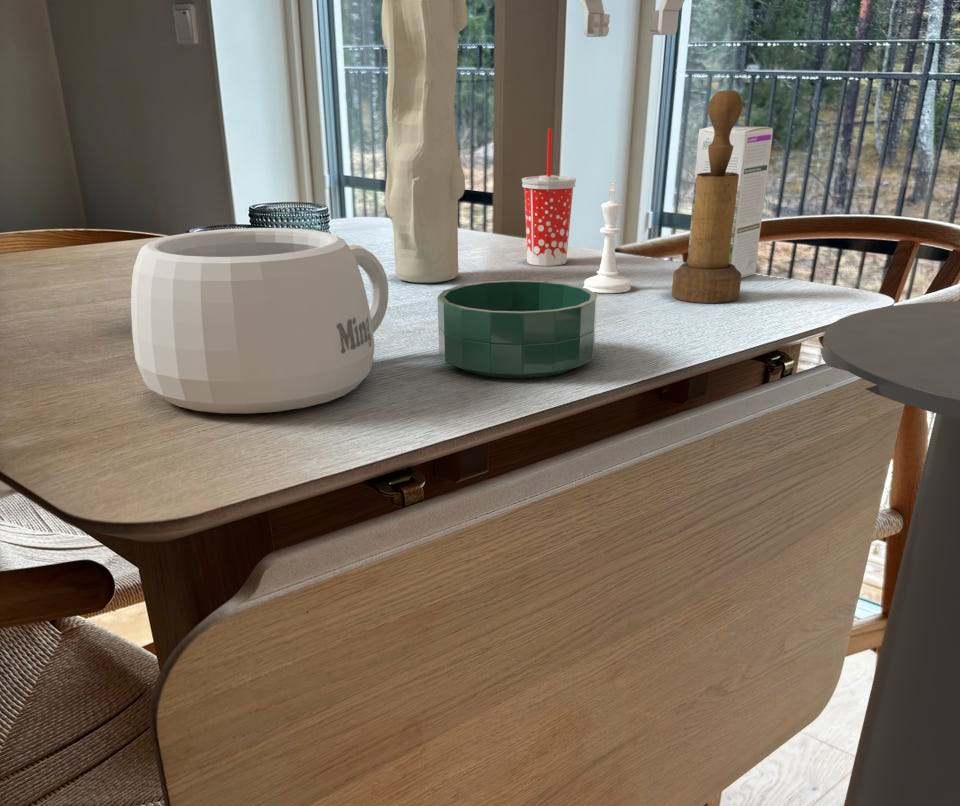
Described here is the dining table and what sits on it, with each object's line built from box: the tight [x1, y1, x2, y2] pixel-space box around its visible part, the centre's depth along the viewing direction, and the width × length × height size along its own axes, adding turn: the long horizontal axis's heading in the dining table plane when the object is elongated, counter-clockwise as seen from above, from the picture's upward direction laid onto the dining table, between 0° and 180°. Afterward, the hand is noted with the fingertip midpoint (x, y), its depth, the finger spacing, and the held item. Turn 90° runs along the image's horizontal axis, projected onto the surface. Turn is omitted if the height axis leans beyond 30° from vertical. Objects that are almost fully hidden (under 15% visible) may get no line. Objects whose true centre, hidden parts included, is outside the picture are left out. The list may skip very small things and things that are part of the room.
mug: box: [130, 227, 389, 414], centre depth 70 cm, size 21×17×10 cm
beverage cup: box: [521, 128, 577, 267], centre depth 112 cm, size 6×6×14 cm
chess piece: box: [582, 182, 632, 294], centre depth 99 cm, size 5×5×10 cm
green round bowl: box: [437, 279, 598, 379], centre depth 76 cm, size 12×12×5 cm
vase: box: [381, 0, 469, 284], centre depth 99 cm, size 9×8×30 cm
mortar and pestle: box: [670, 89, 743, 304], centre depth 93 cm, size 7×6×18 cm
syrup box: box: [686, 125, 774, 279], centre depth 104 cm, size 6×6×14 cm
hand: (628, 36), depth 88 cm, fingers open, 8 cm apart
